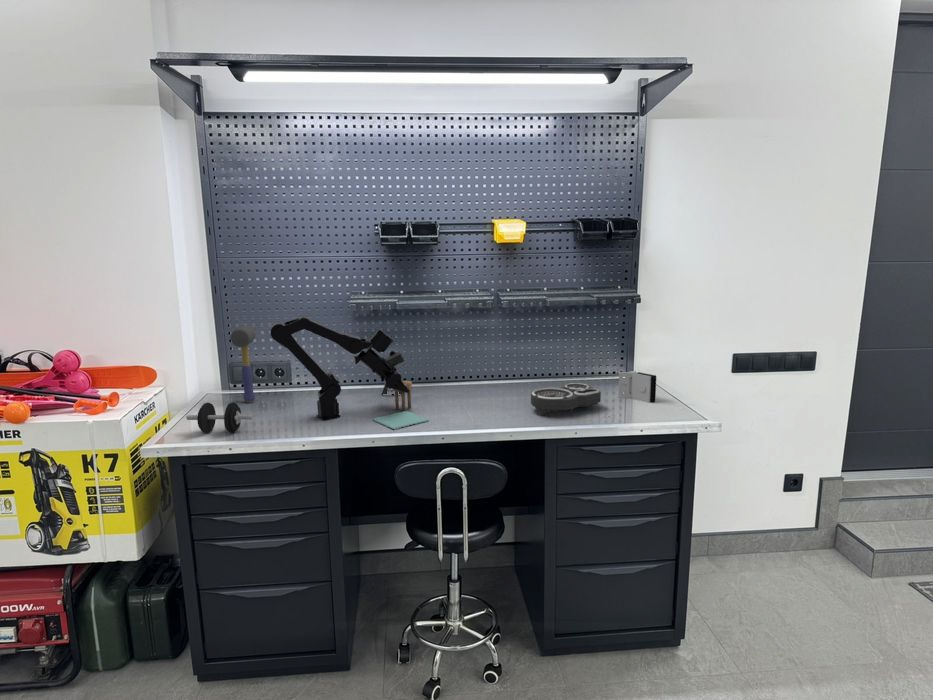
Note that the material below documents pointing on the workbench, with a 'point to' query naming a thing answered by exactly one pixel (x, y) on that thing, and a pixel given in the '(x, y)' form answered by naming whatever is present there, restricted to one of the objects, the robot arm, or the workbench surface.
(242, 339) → the rubber mallet
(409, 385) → the walnut stool
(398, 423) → the rubber mat
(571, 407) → the motorcycle dashboard
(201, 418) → the dumbbell
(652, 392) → the hinge
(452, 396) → the workbench surface
